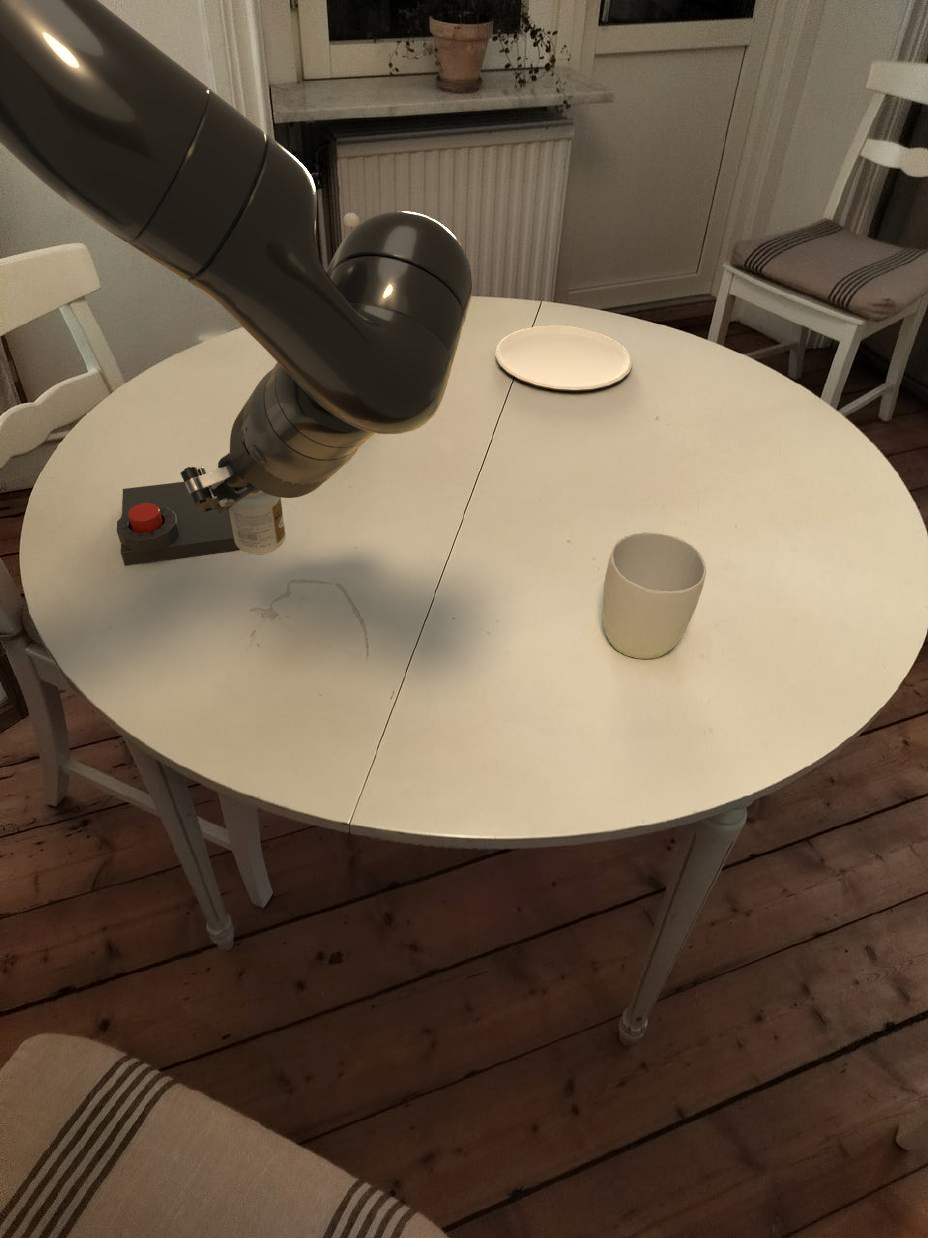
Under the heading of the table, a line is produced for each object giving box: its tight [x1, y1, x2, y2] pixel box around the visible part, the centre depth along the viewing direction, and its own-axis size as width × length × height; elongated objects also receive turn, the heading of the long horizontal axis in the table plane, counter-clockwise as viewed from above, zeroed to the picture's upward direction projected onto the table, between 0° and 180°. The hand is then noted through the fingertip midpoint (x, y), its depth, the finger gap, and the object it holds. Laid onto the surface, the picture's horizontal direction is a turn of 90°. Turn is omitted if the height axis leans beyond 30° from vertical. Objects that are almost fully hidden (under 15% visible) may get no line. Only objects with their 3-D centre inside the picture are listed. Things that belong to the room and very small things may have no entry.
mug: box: [602, 531, 707, 659], centre depth 82 cm, size 13×9×10 cm
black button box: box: [116, 481, 241, 567], centre depth 93 cm, size 16×12×4 cm
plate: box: [494, 324, 633, 392], centre depth 126 cm, size 21×21×1 cm
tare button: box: [128, 503, 163, 533], centre depth 89 cm, size 3×3×2 cm
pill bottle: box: [229, 492, 286, 555], centre depth 70 cm, size 4×4×8 cm
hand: (244, 491), depth 71 cm, fingers closed on pill bottle, 4 cm apart
